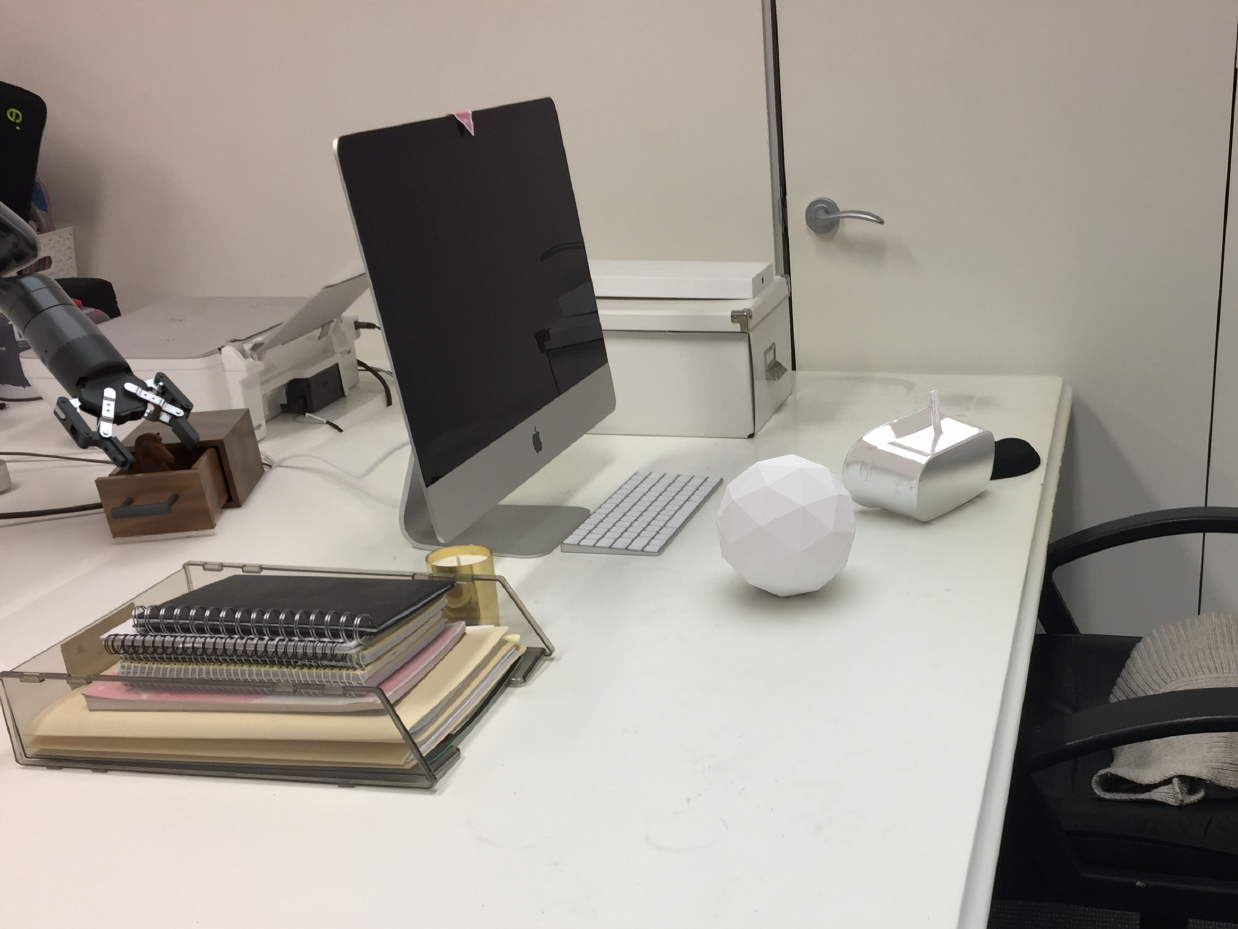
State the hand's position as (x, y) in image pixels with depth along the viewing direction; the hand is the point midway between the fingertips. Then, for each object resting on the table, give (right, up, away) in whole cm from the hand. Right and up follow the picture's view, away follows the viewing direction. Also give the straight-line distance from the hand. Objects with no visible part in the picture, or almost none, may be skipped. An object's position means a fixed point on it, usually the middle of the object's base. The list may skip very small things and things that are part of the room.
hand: (164, 456), depth 150 cm
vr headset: (+92, -5, +6) cm, 92 cm away
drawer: (0, -8, +3) cm, 8 cm away
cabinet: (-3, -3, +15) cm, 15 cm away
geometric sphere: (+77, -17, -17) cm, 80 cm away
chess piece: (-1, -7, +3) cm, 7 cm away
